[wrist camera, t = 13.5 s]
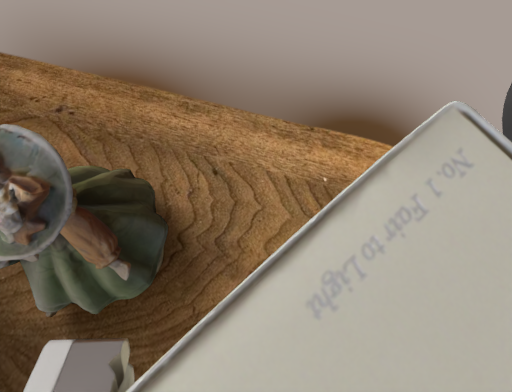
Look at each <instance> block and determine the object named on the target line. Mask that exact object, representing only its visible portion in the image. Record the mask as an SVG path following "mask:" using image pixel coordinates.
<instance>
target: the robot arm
mask: <svg viewBox="0 0 512 392" xmlns="http://www.w3.org/2000/svg"><path fill="white" fill-rule="evenodd" d="M129 355H130V346H129V341H128V339H127V338H97V339H76V340H50V341H49V342H48V343H47V344H46V345H45V346H44V348H43V350H42V352H41V354H40V356H39V358H38V361H37V363H36V365H35V367H34V369H33V371H32V373H31V376H30V378H29V380H28V382H27V384H26V386H25V389H24V391H23V392H126V391H127V390H128V389H129V388H130V387H131V386H132V385H133V384H134V383H135V381H134V370H133V366H132V365H131V364H129V363H128V360H129Z"/></svg>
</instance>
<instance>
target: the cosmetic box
mask: <svg viewBox="0 0 512 392" xmlns="http://www.w3.org/2000/svg"><path fill="white" fill-rule="evenodd" d="M126 392H512V142H511V141H510V140H509V139H507V138H506V137H505V136H504V135H503V134H502V133H500V132H499V131H498V130H497V129H496V128H495V127H493V126H492V125H491V124H490V123H489V122H488V121H487V120H485V119H484V118H483V117H482V116H481V115H480V114H479V113H478V112H477V111H476V110H475V109H473V108H472V107H470V106H469V105H467V104H466V103H463V102H458V101H453V102H450V103H449V104H447V105H446V106H445V107H443V108H441V109H440V110H439V111H437V112H436V113H435V114H434V115H432V116H431V117H430V118H429V119H428V120H426V121H425V122H424V123H422V124H421V125H420V126H419V127H417V128H416V129H415V130H414V131H413V132H411V133H410V134H409V135H408V136H406V137H405V138H404V139H403V140H402V141H400V142H399V143H398V144H397V145H395V146H394V147H393V148H392V149H390V150H389V151H388V152H387V153H386V154H384V155H383V156H382V157H381V158H380V159H379V160H377V161H376V162H375V163H374V164H373V165H372V166H371V167H370V168H368V169H367V170H366V171H365V172H364V173H363V174H362V175H361V176H359V177H358V178H357V179H356V180H355V181H354V182H353V183H352V184H350V185H349V186H348V187H347V188H346V189H344V190H343V191H342V192H341V193H340V194H339V195H337V196H336V197H335V198H334V199H333V200H332V201H331V202H330V203H329V204H328V205H327V206H325V207H324V208H323V209H322V210H321V211H320V212H319V213H317V214H316V215H315V216H314V217H313V218H312V219H311V220H309V221H308V222H307V223H306V224H305V225H304V226H303V227H302V228H301V229H300V230H298V231H297V232H296V233H295V234H294V235H293V236H292V237H291V238H290V239H288V240H287V241H286V242H285V243H284V244H283V245H282V246H281V247H280V248H279V249H278V250H277V251H275V252H274V253H273V254H272V255H271V256H270V257H269V258H268V259H267V260H266V261H265V262H263V263H262V264H261V265H260V266H259V267H258V268H257V269H256V270H255V271H254V272H253V273H252V274H251V275H249V276H248V277H247V278H246V279H245V280H244V281H243V282H242V283H241V284H240V285H238V286H237V287H236V288H235V289H234V290H233V291H232V292H231V293H230V294H229V295H228V296H226V297H225V298H224V299H223V300H222V301H221V302H220V303H219V304H218V305H217V306H216V307H215V308H213V309H212V310H211V311H210V312H209V313H208V314H207V315H206V316H205V317H204V318H203V319H202V320H201V321H200V322H198V323H197V324H196V325H195V326H194V327H193V328H192V329H191V330H190V331H189V332H188V333H187V334H186V335H185V336H184V337H182V338H181V339H180V340H179V341H178V342H177V343H176V344H175V345H174V346H173V347H172V348H171V349H170V350H169V351H168V352H167V353H166V354H165V355H163V356H162V357H161V358H160V359H159V360H158V361H157V362H156V363H155V364H154V365H153V366H152V367H151V368H150V369H149V370H148V371H147V372H146V373H145V374H144V375H143V376H142V377H140V378H139V379H138V380H137V381H136V382H135V383H134V384H133V385H132V386H131V387H130V388H129V389H128V390H127V391H126Z"/></svg>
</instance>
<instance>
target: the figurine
mask: <svg viewBox="0 0 512 392" xmlns="http://www.w3.org/2000/svg"><path fill="white" fill-rule="evenodd" d="M167 233H168V225H167V223H166V222H165V220H164V219H163V218H162V216H161V215H158V214H156V208H155V192H154V190H153V188H152V186H151V185H150V184H149V183H148V182H147V181H145V180H144V179H140V178H135V177H134V175H133V174H132V172H131V170H130V169H117V170H113V171H109V170H108V169H105V168H102V167H97V166H78V167H73V168H70V169H68V170H67V168H66V166H65V163H64V161H63V159H62V158H61V156H60V155H59V153H58V152H57V150H56V149H55V148H54V147H53V146H52V145H51V144H50V143H49V142H48V141H47V140H45V139H44V138H43V137H42V136H41V135H40V134H38V133H35V132H33V131H31V130H28V129H25V128H23V127H21V126H19V125H11V124H3V125H0V268H3V267H6V266H9V265H12V264H15V263H17V262H19V261H20V262H21V264H22V267H23V269H24V271H25V273H26V276H27V278H28V281H29V283H30V286H31V289H32V292H33V296H34V298H35V303H36V306H37V307H38V309H39V310H41V311H44V312H46V317H52V316H53V315H55V314H56V313H57V311H58V310H60V309H62V308H64V307H65V306H67V305H69V304H70V303H76V304H78V305H79V306H80V307H81V308H82V309H84V310H86V311H88V312H90V313H91V314H98V313H99V312H101V311H102V309H103V308H105V307H106V306H107V305H108V304H110V303H112V302H114V301H115V300H119V299H131V298H134V297H136V296H138V295H139V294H141V293H142V292H143V291H145V290H146V289H147V288H148V287H149V286H150V285H151V284H152V282H153V280H154V278H155V276H156V274H157V272H158V271H159V269H160V266H161V264H162V262H163V254H164V244H165V241H166V237H167Z"/></svg>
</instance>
